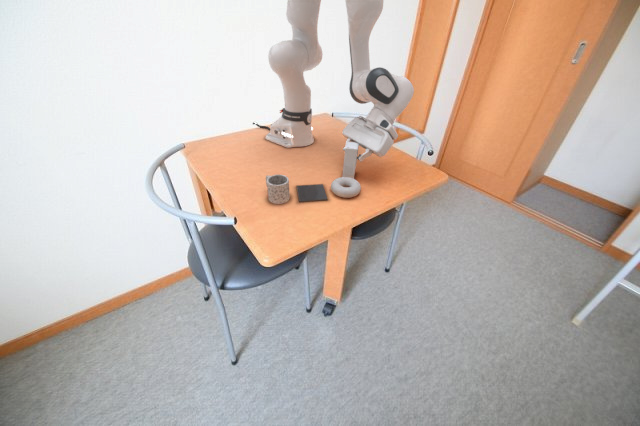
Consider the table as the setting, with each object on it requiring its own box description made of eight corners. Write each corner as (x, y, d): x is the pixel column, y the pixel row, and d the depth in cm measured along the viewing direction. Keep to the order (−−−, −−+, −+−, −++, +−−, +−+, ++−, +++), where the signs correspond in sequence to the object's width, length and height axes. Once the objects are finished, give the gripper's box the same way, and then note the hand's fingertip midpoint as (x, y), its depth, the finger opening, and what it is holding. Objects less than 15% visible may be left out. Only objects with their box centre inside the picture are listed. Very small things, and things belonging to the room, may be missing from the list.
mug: (293, 198, 86) (293, 180, 82) (276, 206, 83) (274, 188, 79) (276, 185, 92) (274, 168, 88) (259, 192, 88) (256, 174, 84)
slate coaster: (322, 185, 93) (322, 184, 93) (327, 200, 86) (327, 198, 86) (296, 187, 92) (296, 185, 91) (299, 202, 85) (299, 200, 84)
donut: (357, 183, 95) (328, 183, 94) (358, 175, 93) (329, 174, 92) (363, 199, 87) (332, 200, 86) (364, 190, 85) (333, 190, 84)
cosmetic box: (353, 181, 96) (357, 149, 89) (341, 179, 97) (344, 148, 89) (355, 173, 101) (359, 142, 94) (344, 171, 101) (347, 141, 94)
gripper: (353, 109, 97) (329, 140, 99) (395, 127, 84) (366, 163, 85) (361, 119, 102) (338, 149, 103) (402, 138, 88) (375, 172, 90)
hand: (351, 155), depth 94 cm, fingers closed on cosmetic box, 6 cm apart
